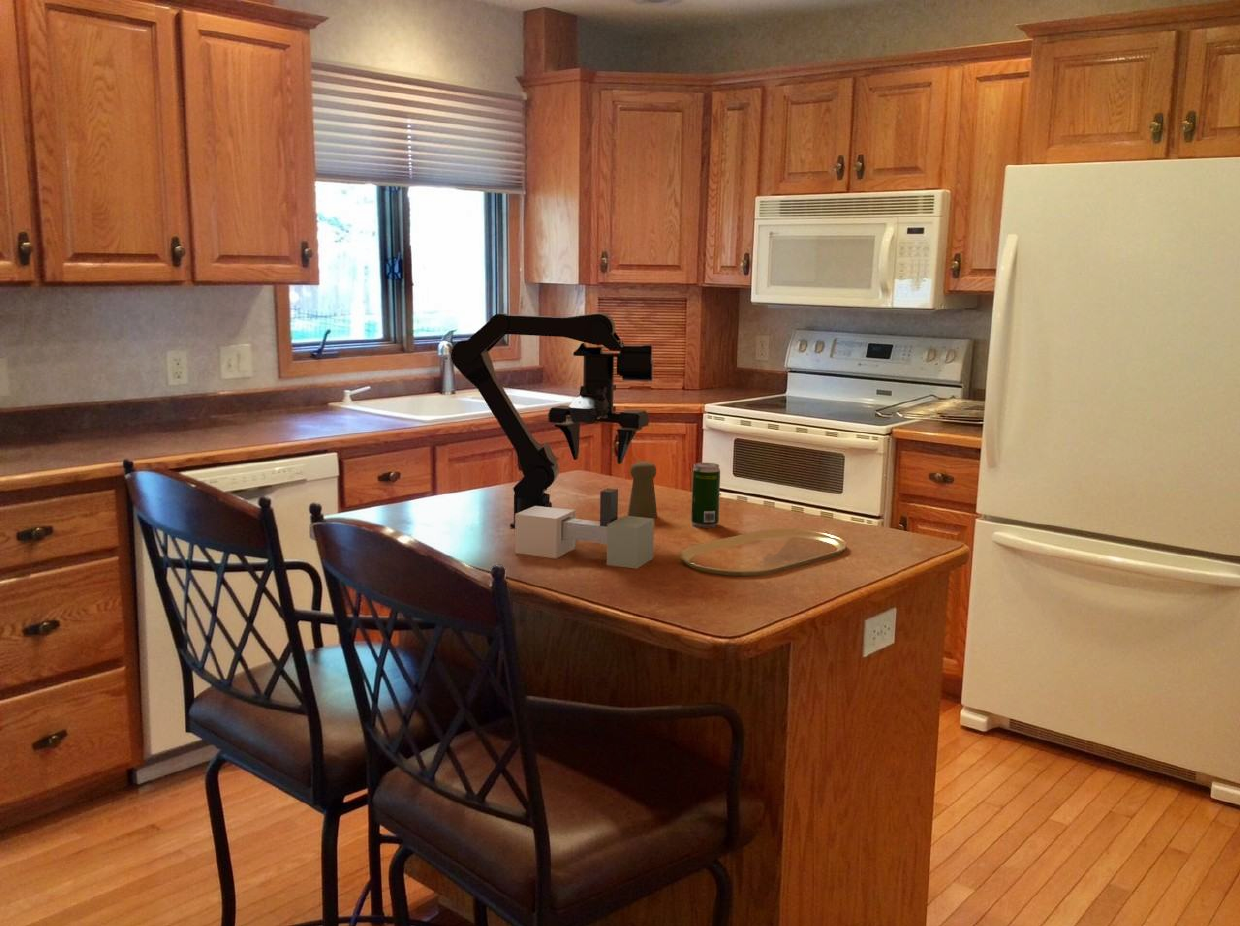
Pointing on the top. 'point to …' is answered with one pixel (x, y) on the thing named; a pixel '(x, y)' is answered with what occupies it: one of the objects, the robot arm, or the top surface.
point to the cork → (643, 491)
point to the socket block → (630, 541)
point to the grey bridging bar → (593, 529)
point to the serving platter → (757, 535)
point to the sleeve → (542, 532)
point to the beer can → (705, 495)
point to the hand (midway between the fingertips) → (597, 461)
